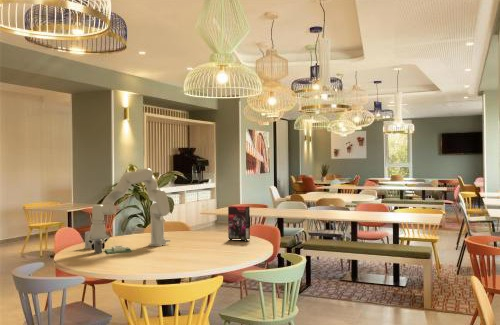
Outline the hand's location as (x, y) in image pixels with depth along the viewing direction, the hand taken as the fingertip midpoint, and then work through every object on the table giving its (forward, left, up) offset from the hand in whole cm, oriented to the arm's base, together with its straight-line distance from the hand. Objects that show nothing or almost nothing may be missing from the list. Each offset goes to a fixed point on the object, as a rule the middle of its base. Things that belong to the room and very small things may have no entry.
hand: (98, 249), depth 306 cm
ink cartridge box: (+1, -20, -3) cm, 20 cm away
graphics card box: (-107, -3, -3) cm, 107 cm away
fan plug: (0, +2, -2) cm, 3 cm away
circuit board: (-13, +2, -2) cm, 13 cm away
